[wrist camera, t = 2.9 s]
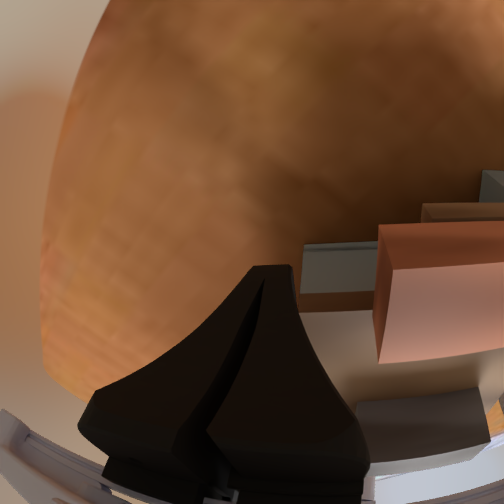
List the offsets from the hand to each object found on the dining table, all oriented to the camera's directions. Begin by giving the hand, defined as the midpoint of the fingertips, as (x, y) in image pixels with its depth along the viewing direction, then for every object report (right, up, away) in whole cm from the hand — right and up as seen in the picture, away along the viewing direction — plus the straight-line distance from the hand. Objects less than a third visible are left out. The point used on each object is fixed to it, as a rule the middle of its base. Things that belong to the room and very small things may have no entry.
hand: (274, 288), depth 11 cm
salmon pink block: (+7, +1, -1) cm, 8 cm away
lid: (+9, -6, +5) cm, 12 cm away
